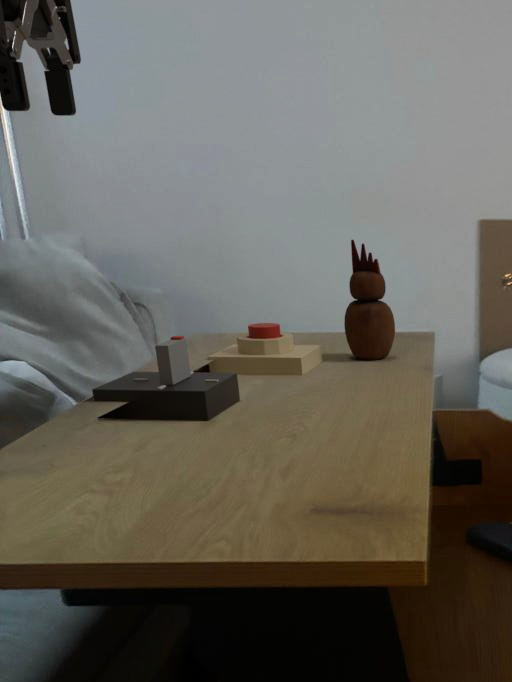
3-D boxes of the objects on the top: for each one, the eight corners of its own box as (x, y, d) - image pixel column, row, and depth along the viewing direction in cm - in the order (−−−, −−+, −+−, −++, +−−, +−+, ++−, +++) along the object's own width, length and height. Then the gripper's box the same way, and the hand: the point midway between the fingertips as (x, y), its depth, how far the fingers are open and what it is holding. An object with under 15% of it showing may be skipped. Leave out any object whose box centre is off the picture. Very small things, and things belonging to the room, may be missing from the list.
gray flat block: (173, 385, 102) (167, 343, 100) (160, 384, 102) (154, 342, 101) (191, 376, 107) (185, 335, 105) (178, 375, 107) (173, 335, 105)
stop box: (209, 374, 124) (205, 341, 123) (236, 360, 133) (232, 330, 132) (302, 375, 123) (299, 342, 121) (322, 361, 132) (320, 330, 130)
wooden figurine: (338, 358, 134) (330, 239, 128) (370, 352, 138) (364, 237, 132) (371, 364, 130) (365, 242, 124) (403, 358, 134) (399, 239, 127)
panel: (96, 418, 102) (91, 387, 101) (137, 398, 111) (132, 370, 110) (208, 420, 101) (204, 389, 100) (240, 400, 110) (237, 371, 109)
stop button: (245, 341, 125) (243, 327, 124) (254, 336, 129) (253, 322, 128) (275, 341, 125) (274, 327, 124) (284, 337, 128) (283, 323, 127)
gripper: (7, -83, 90) (42, 117, 97) (-91, -125, 77) (-43, 109, 84) (85, -86, 89) (114, 116, 96) (-1, -128, 77) (41, 108, 84)
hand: (41, 113), depth 90 cm, fingers open, 8 cm apart
